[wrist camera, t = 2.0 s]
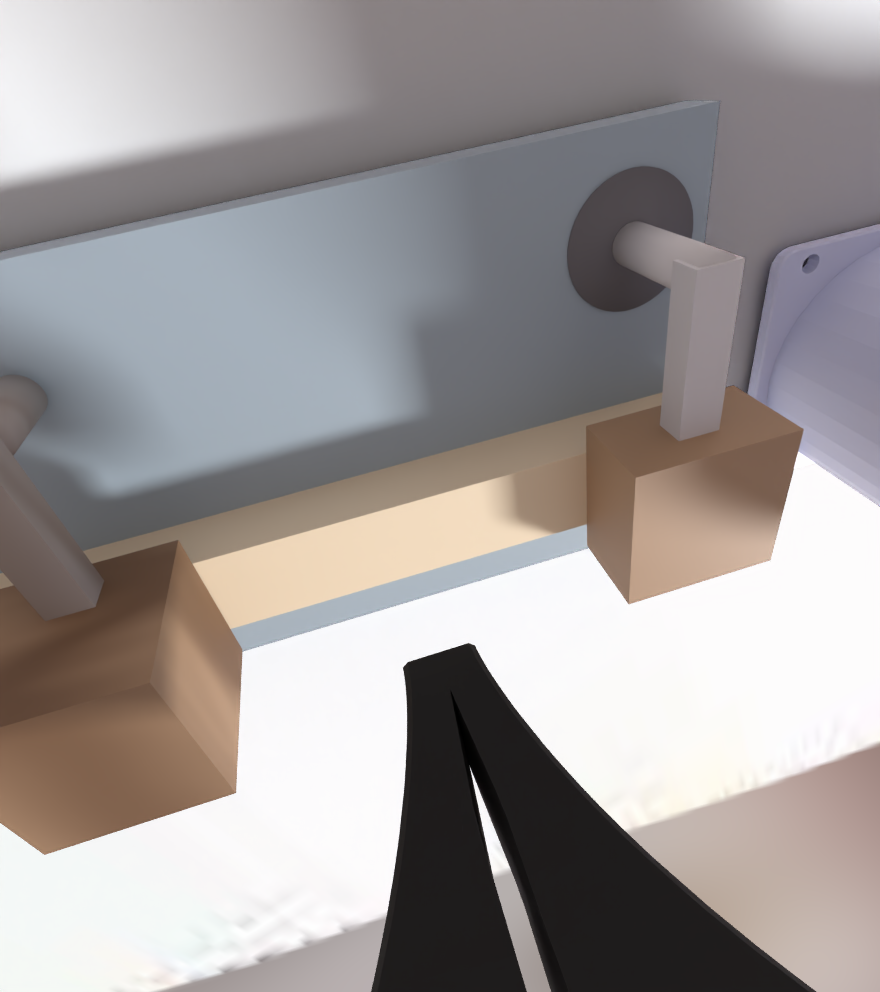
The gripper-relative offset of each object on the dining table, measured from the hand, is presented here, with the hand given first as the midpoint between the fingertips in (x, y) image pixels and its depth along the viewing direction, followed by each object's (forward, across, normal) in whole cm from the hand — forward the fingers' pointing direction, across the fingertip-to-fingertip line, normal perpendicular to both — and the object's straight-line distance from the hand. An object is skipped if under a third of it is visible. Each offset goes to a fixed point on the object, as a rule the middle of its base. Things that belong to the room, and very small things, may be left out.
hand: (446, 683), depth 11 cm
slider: (+6, +7, -2) cm, 9 cm away
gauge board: (+8, +3, -2) cm, 8 cm away
